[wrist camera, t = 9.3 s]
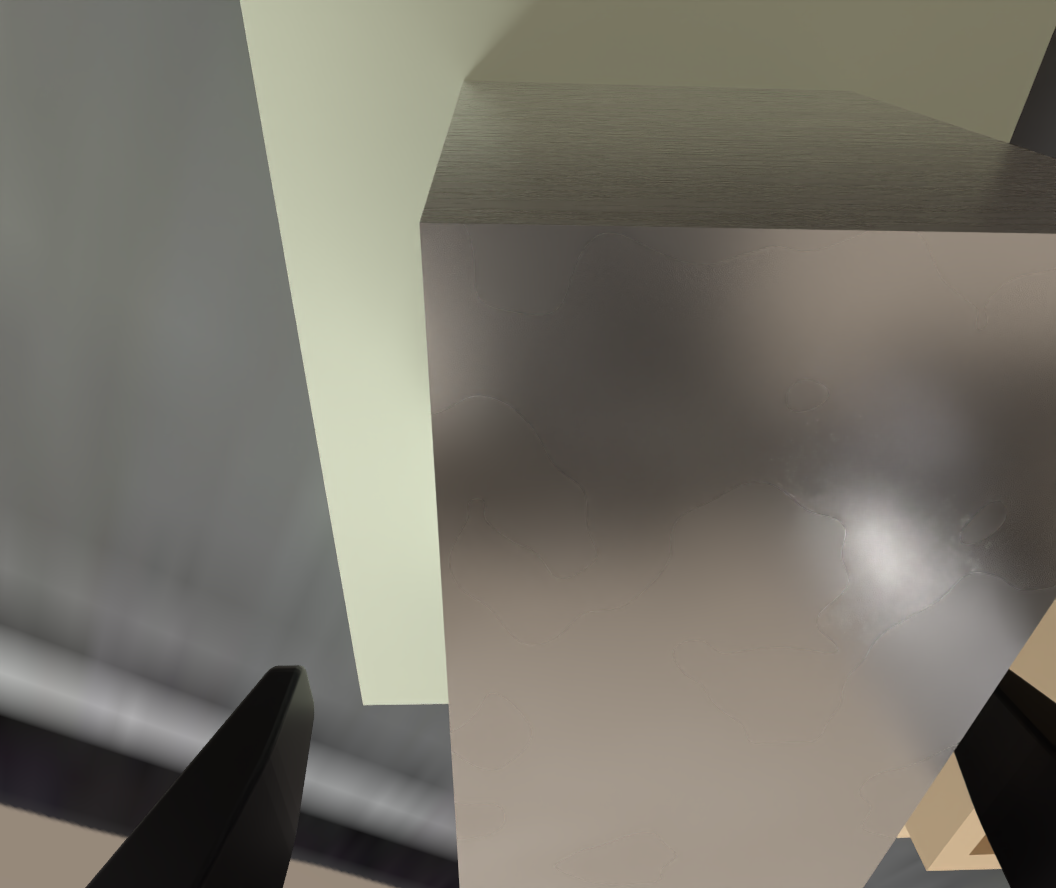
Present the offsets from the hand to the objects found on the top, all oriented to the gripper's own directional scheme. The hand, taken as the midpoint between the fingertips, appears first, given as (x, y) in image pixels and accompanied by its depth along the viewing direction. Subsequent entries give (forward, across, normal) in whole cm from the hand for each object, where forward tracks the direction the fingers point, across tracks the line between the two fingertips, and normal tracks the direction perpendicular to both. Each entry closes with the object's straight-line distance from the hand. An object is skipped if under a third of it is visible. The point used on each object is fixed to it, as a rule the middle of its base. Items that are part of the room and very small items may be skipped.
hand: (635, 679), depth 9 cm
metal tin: (+4, 0, -1) cm, 4 cm away
